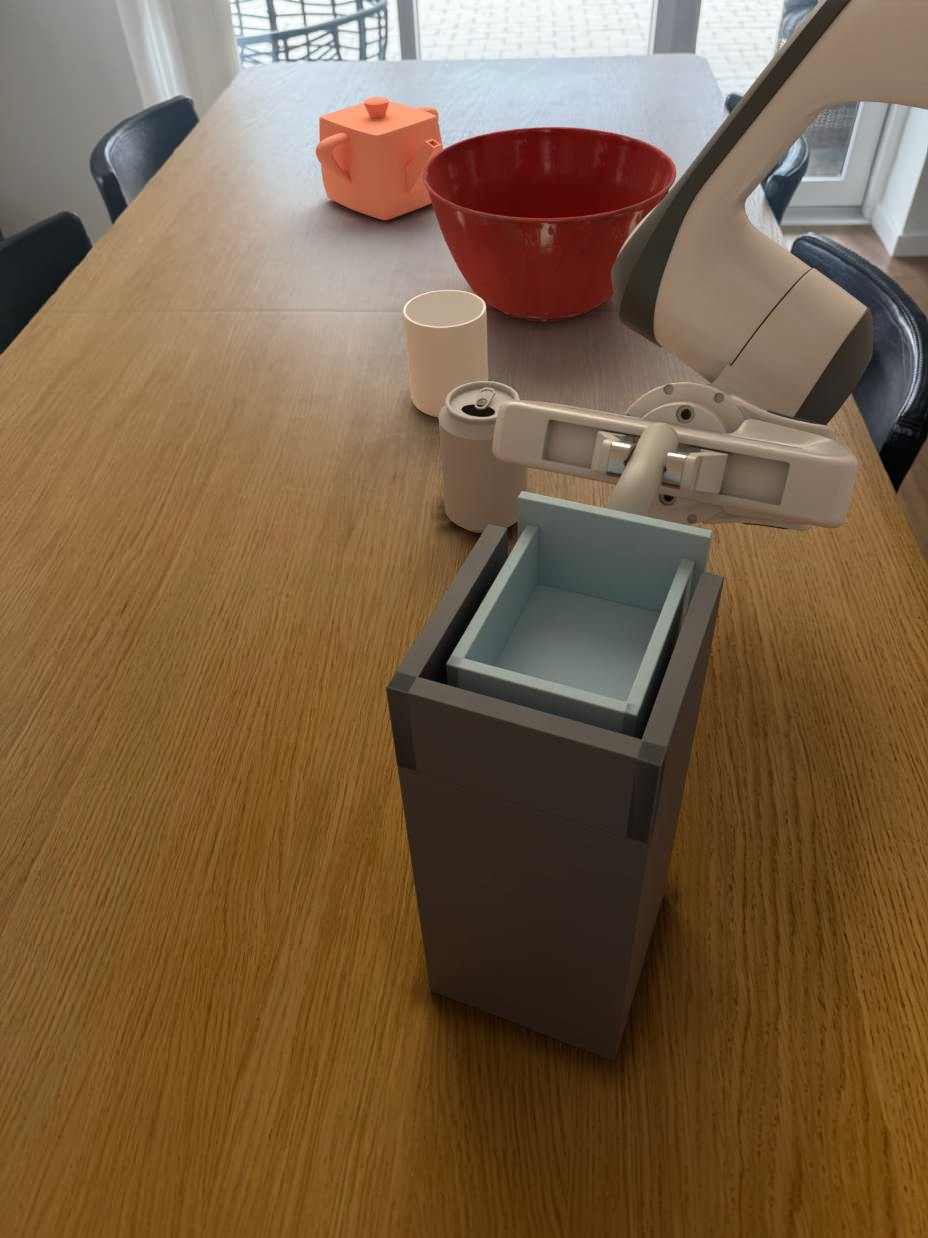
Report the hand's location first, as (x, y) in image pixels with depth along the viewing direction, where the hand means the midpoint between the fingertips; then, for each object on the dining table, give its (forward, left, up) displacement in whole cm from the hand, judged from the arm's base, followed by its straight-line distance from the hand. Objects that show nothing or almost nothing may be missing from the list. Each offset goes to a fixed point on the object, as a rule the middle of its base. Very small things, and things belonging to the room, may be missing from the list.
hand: (645, 466), depth 49 cm
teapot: (+59, -89, -26) cm, 110 cm away
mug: (+30, -43, -26) cm, 59 cm away
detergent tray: (0, +6, -4) cm, 7 cm away
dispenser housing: (0, +13, -25) cm, 29 cm away
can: (+19, -24, -26) cm, 40 cm away
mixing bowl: (+28, -67, -26) cm, 77 cm away
